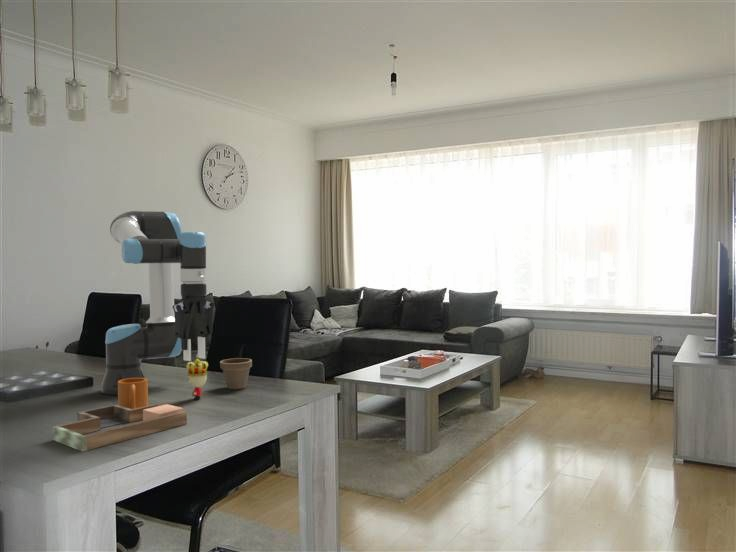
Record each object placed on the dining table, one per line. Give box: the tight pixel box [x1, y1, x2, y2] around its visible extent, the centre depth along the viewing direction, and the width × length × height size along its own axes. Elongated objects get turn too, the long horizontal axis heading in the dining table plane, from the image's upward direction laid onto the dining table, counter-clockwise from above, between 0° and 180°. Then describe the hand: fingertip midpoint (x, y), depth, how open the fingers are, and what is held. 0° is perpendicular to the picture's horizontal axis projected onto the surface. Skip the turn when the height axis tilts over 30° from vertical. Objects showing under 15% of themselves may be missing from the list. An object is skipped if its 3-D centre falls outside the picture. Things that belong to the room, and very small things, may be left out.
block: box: [142, 403, 184, 421], centre depth 173 cm, size 8×8×4 cm
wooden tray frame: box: [52, 403, 188, 453], centre depth 166 cm, size 25×30×4 cm
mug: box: [117, 377, 149, 409], centre depth 186 cm, size 9×12×9 cm
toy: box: [185, 355, 209, 401], centre depth 200 cm, size 7×7×15 cm
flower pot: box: [219, 357, 253, 390], centre depth 217 cm, size 12×11×10 cm
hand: (194, 359), depth 181 cm, fingers open, 4 cm apart
